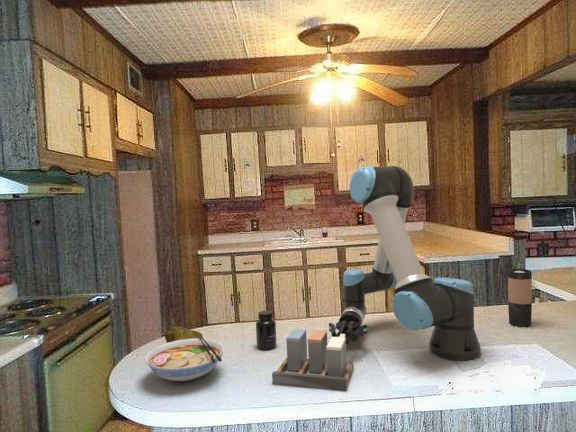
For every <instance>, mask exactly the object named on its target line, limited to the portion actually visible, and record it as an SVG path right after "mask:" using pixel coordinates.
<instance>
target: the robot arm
mask: <svg viewBox="0 0 576 432" xmlns="http://www.w3.org/2000/svg"><path fill="white" fill-rule="evenodd" d="M414 188H415V187H414V183H413V179H412V177H411V175H410V174H409V173H408V171H406V170H405V169H404V168H403V167H400V166H396V165H390V166H389V165H388V166H386V165H384V166H381V165H380V166H372V165H369V166H363V167H362V166H361V167H359V168H357V169H356V170H355V171H354V172H353V174H352V176H351V178H350V182H349V194H350V196H351V199H352V200H353V201H354V202H355V203H357V204H361V205H362V207H363V210H364V212H365V213H367V214H370V215H371V219H372V221H373V224H374V226H375V228H376V232H377V234H378V237H379V240H378V241H377V242H378V243H377V249H376V253H375V258H374V262H373V266H372V270H371V271H370V272H367V273H364V270H362V269H354V268H353V269H346V270H345V271H344V272H343V276H342V286H343V297H344V298H343V305H344V306H343V307H344V311H342V314H341V316H340V317H339V319H338V322H336V323H332V322H329V323H328V331H329V332H330V334H331V337H346V345H349V343H350V342H351V341H352V343H353V342H354V343H355V342H357V341H358V340H359V339H361V337H362V336H363V335H365V334H367V333H368V325H367V324H363V322H364V319H365V318H366V314H367V306H366V299H365V298H366V295H369V294H373V293H378V292H386V291H389V290H391V289H394V294H395V295H394V297H393V298H392V305H391V306H392V311H393V315H394V316H395V318H396V320H397V321H398V323H400V324H401V325H402V326H403V327H405V328H406V329H407V330H410V331H420V330H427V329H429V328H432V327H433V330H432V332H431V337H430V338H429V343H428V344H429V345H428V346H429V348H428V349H429V350H428V351H431V352H432V353H431V352H430V353H431V354H432V355H434V354H435V355H434V356H436V355H437V356H436V357H438V356H439V357H438V358H441V357H443V358H442V359H445V358H446V359H445V360H452V361H470V360H475V359H478V358H479V357H480V356H481V353H482V352H481V351H482V350H481V345H480V342H479V338H478V336H477V333H476V329H475V315H474V313H475V306H474V305H475V301H474V298H475V297H474V296H475V294H474V285H473V283H472V282H470V281H468V280H465V279H460V278H452V277H434V279H432V277H431V276H429V275H427V274H425V273H424V271H423V268H422V265H421V263H420V261H419V258H418V255H417V253H416V251H415V248H414V246H413V244H412V241H411V238H410V236H409V233H408V230H407V228H406V225H405V223H406V218H407V214H408V211H409V210H410V209H411V208H412V205H413V202H414V197H415V195H414V194H415V189H414ZM362 324H363V325H362ZM336 330H337V332H336Z"/></svg>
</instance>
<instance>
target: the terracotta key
mask: <svg viewBox="0 0 576 432" xmlns="http://www.w3.org/2000/svg"><path fill="white" fill-rule="evenodd" d="M327 345H328V331H327V330H321V329H320V330H319V329H313V331H312V332H311V334H310V336H309V337H308V338H307V358H308V359H309V369H308V373H315V374H316V373H317V374H322V372H323V370H324V368H325V366H326V364H327V349H326V347H327Z"/></svg>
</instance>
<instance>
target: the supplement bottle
mask: <svg viewBox="0 0 576 432" xmlns="http://www.w3.org/2000/svg"><path fill="white" fill-rule="evenodd" d="M257 318H258V319H257V320H256V322H255V330H256V331H255V337H256V347H257V349H259V350H261V351H270V350H273V349H275V348H276V347H277V323H276V320H275V319H274V316H273V311H272V310H261V311H259V312H258V316H257Z"/></svg>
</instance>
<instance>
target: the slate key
mask: <svg viewBox="0 0 576 432" xmlns="http://www.w3.org/2000/svg"><path fill="white" fill-rule="evenodd" d="M285 341H286V358H287V364H288V368H287V371H291V372H294V371H295V372H299V371H300V370H301V368H302V367H303V365H304V363H305V362H306V360H307V359H308V338H307V329H300V328H294V329H292V330H291V332H290V333H289V334H288V335H287V336H286V340H285Z"/></svg>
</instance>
